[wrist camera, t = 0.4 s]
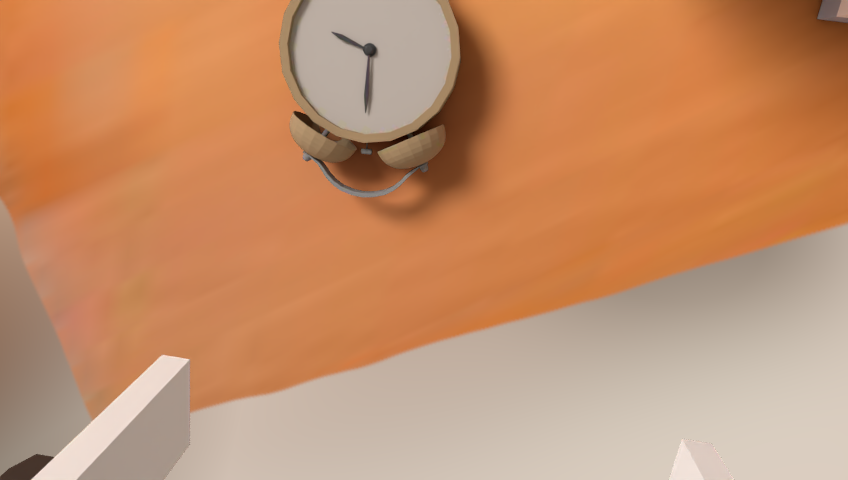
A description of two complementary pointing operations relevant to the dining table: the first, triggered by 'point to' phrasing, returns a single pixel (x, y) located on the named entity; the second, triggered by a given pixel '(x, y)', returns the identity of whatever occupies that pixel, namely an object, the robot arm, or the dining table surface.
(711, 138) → the dining table surface
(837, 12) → the dock
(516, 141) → the dining table surface
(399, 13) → the alarm clock
